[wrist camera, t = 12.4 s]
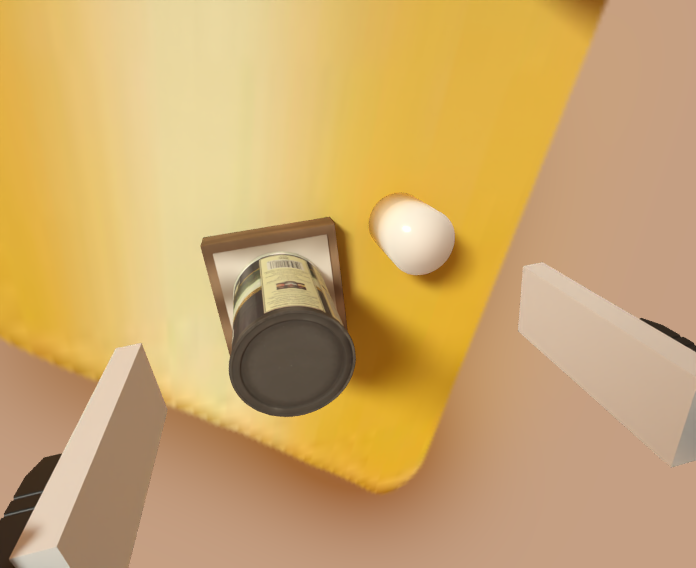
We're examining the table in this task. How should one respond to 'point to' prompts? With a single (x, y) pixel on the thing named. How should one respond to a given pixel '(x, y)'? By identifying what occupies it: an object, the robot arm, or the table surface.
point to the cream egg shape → (411, 233)
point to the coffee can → (287, 338)
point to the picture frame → (242, 247)
